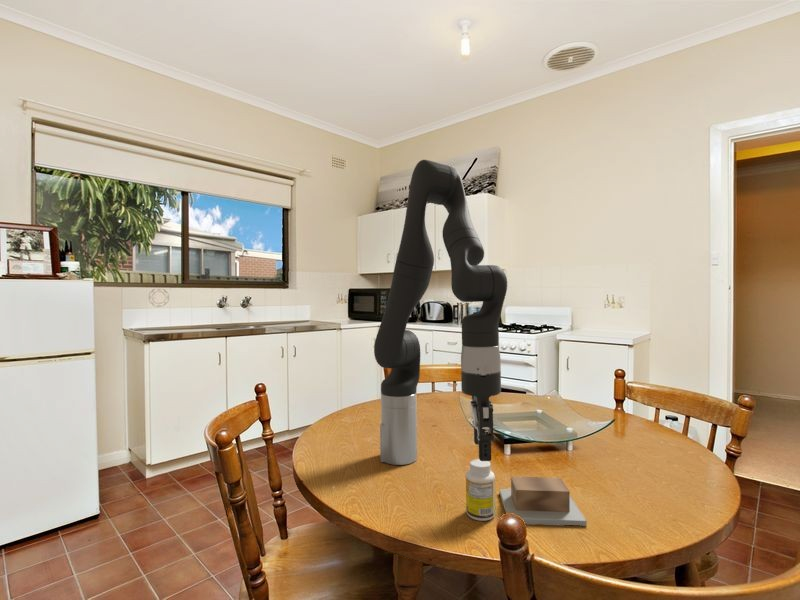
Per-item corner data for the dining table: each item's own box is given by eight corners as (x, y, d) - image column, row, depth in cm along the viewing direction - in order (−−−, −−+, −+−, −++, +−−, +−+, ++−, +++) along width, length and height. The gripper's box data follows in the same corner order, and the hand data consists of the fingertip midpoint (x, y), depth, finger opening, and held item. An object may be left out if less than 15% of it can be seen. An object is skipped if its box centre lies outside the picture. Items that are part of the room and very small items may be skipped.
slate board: (509, 523, 81) (509, 518, 81) (499, 493, 93) (499, 488, 93) (586, 526, 80) (586, 520, 80) (566, 495, 92) (566, 490, 92)
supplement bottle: (475, 504, 88) (475, 454, 88) (500, 513, 85) (500, 461, 84) (460, 515, 84) (460, 463, 84) (486, 525, 80) (485, 471, 80)
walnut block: (516, 510, 84) (516, 489, 84) (511, 495, 90) (511, 476, 90) (569, 512, 83) (569, 491, 83) (560, 497, 89) (560, 477, 89)
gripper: (458, 362, 91) (460, 439, 91) (464, 375, 77) (465, 466, 77) (494, 362, 91) (496, 439, 91) (507, 375, 76) (508, 466, 77)
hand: (482, 451), depth 84 cm, fingers open, 8 cm apart
